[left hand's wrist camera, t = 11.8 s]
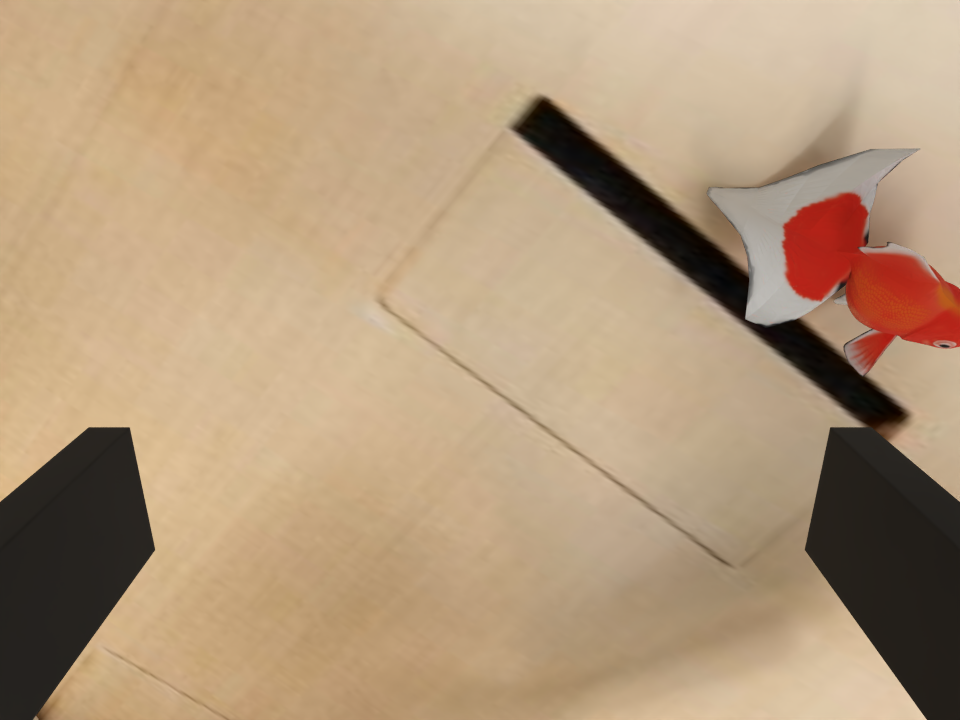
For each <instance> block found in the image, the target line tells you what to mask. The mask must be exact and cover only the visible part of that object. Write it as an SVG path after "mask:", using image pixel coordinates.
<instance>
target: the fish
mask: <svg viewBox="0 0 960 720" xmlns="http://www.w3.org/2000/svg"><path fill="white" fill-rule="evenodd" d="M918 150H920V149H870V150H867V151H863V152H860V153H857V154H854V155H850V156H847V157H844V158H841V159H837V160H834V161H831V162H828V163H824V164H821V165H818V166H816V167H813V168H811V169H808V170H806V171H803V172H801V173H798V174H796V175H793V176H790V177H788V178H785V179H782V180H779V181H777V182H774V183H771V184H768V185H765V186H762V187H759V188H720V187H709V189H708V191H707V195H708V196H709V198H710V199H711V200H712V201H713V202H714V204H715V205H716V206H717V207H718V208H719V209H720V210H721V211H722V213H723V214H724V215H725V216H726V218H727V219H728V220H729V221H730V223H731V224H732V225H733V226H734V228H735V229H736V230H737V231H738V233H739V234H740V235H741V238H742V241H743V244H744V247H745V250H746V253H747V257H748V269H749V290H748V300H747V309H746V318H745V319H746V320H749V321H751V322H754V323H756V324H758V325H761V326H763V327H766V328H767V327H771V326H774V325H778V324H782V323H786V322H790V321H794V320H796V319H797V318H799V317H801V316H803V315H805V314H807V313H809V312H810V311H812V310H813V309H815V308H816V307H817V306H819V305H820V304H822V303H823V302H824V301H825V300H827V299H828V298H829V297H831V296H832V295H833V294H835V293H836V292H837V291H838V290H840V289H841V288H842V287H844V286H845V285H846V294H844V295H842V296H840V297H838V298H836V299H835V300H834V303H836V304H843V305H848V307H849V309H850V311H851V312H852V314H853V316H854V317H855V318H856V319H857V320H858V321H859V322H861V323H862V324H864V325H866V326H868V327H869V328H872V329H871V330H869V331H867V332H865V333H863V334H861V335H860V336H858V337H856V338H854V339H853V340H851V341H849V342H847V343H846V344H845V345H844V352H845V355H846V357H847V360H848V362H849V363H850V364H851V365H852V366H853V367H854V369H855V370H856V371H857V372H858V373H859V374H860V375H861V376H862V377H864V375H865V374H866V373H867V372H869V370H870V369H871V368H872V367H873V366H874V364H875V363H876V361H877V360H878V359H879V357H880V356H881V355H882V354H883V352H884V351H885V349H886V348H887V347H888V346H889V345H890V343H891V342H892V341H893V340H894V339H895V338H896V336H897V335H898V336H900V337H901V338H902V339H904V340H907V341H912V342H917V343H921V344H926V345H930V346H933V347H938V348H955V347H960V289H959V288H958V287H956V286H955V285H953V284H950V283H948V282H946V281H944V279H943V278H942V277H941V276H940V275H939V273H938V272H937V271H936V270H935V269H934V268H933V267H932V266H930V265H929V264H928V263H927V261H926V260H925V258H924V257H923V256H921V255H920V254H918V253H916V252H915V251H913V250H911V249H908V248H905V247H903V246H900V245H897V244H894V243H891V242H887V246H878V247H865V246H866V245H867V243H868V237H869V219H870V212H871V209H872V205H873V202H874V199H875V194H876V189H877V185H878V182H880V181H881V180H882V179H883V178H884V177H885V176H886V175H887V174H888V173H889V172H890V171H891V170H893V169H894V168H895V167H896V166H897V165H898V164H899V163H900V162H901V161H902V160H904V159H905V158H907V157H909V156H910V155H912V154H913V153H915V152H916V151H918Z"/></svg>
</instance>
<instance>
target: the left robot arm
mask: <svg viewBox="0 0 960 720" xmlns="http://www.w3.org/2000/svg"><path fill="white" fill-rule="evenodd" d="M154 551H155V547H154V542H153V537H152V532H151V528H150V523H149V518H148V513H147V508H146V504H145V499H144V494H143V489H142V484H141V480H140V475H139V470H138V465H137V460H136V456H135V451H134V446H133V441H132V436H131V432H130V427H89V428H88V429H86V430H85V431H84V432H83V433H82V434H80V435H79V436H78V437H77V438H76V439H74V440H73V441H72V442H71V443H70V444H69V445H67V446H66V447H65V448H64V449H63V450H61V451H60V452H59V453H58V454H57V455H56V456H54V457H53V458H52V459H51V460H50V461H48V462H47V463H46V464H45V465H44V466H42V467H41V468H40V469H39V470H38V471H37V472H35V473H34V474H33V475H32V476H31V477H29V478H28V479H27V480H26V481H25V482H23V483H22V484H21V485H20V486H19V487H18V488H16V489H15V490H14V491H13V492H12V493H10V494H9V495H8V496H7V497H6V498H4V499H3V500H2V501H1V502H0V720H33V719H34V718H35V716H36V715H37V714H38V712H39V711H40V709H41V708H42V707H43V705H44V704H45V702H46V701H47V700H48V698H49V697H50V695H51V694H52V693H53V691H54V690H55V688H56V687H57V686H58V684H59V683H60V682H61V680H62V679H63V677H64V676H65V675H66V673H67V672H68V670H69V669H70V668H71V666H72V665H73V663H74V662H75V661H76V659H77V658H78V656H79V655H80V654H81V652H82V651H83V650H84V648H85V647H86V645H87V644H88V643H89V641H90V640H91V638H92V637H93V636H94V634H95V633H96V631H97V630H98V629H99V627H100V626H101V624H102V623H103V622H104V620H105V619H106V618H107V616H108V615H109V613H110V612H111V611H112V609H113V608H114V606H115V605H116V604H117V602H118V601H119V599H120V598H121V597H122V595H123V594H124V592H125V591H126V590H127V588H128V587H129V586H130V584H131V583H132V581H133V580H134V579H135V577H136V576H137V574H138V573H139V572H140V570H141V569H142V567H143V566H144V565H145V563H146V562H147V560H148V559H149V558H150V556H151V555H152V554H153V552H154ZM805 551H806V552H807V554H808V555H809V556H810V558H811V559H812V560H813V562H814V563H815V565H816V566H817V567H818V569H819V570H820V572H821V573H822V574H823V576H824V577H825V579H826V580H827V581H828V583H829V584H830V586H831V587H832V588H833V590H834V591H835V592H836V594H837V595H838V597H839V598H840V599H841V601H842V602H843V604H844V605H845V606H846V608H847V609H848V611H849V612H850V613H851V615H852V616H853V618H854V619H855V620H856V622H857V623H858V624H859V626H860V627H861V629H862V630H863V631H864V633H865V634H866V636H867V637H868V638H869V640H870V641H871V643H872V644H873V645H874V647H875V648H876V650H877V651H878V652H879V654H880V655H881V656H882V658H883V659H884V661H885V662H886V663H887V665H888V666H889V668H890V669H891V670H892V672H893V673H894V675H895V676H896V677H897V679H898V680H899V682H900V683H901V684H902V686H903V687H904V688H905V690H906V691H907V693H908V694H909V695H910V697H911V698H912V700H913V701H914V702H915V704H916V705H917V707H918V708H919V709H920V711H921V712H922V714H923V715H924V716H925V718H926V719H927V720H960V502H959V501H958V500H957V499H956V498H954V497H953V496H952V495H951V494H950V493H948V492H947V491H946V490H945V489H944V488H942V487H941V486H940V485H939V484H938V483H937V482H935V481H934V480H933V479H932V478H931V477H929V476H928V475H927V474H926V473H925V472H923V471H922V470H921V469H920V468H919V467H918V466H916V465H915V464H914V463H913V462H912V461H910V460H909V459H908V458H907V457H906V456H904V455H903V454H902V453H901V452H900V451H899V450H897V449H896V448H895V447H894V446H893V445H891V444H890V443H889V442H888V441H887V440H886V439H884V438H883V437H882V436H881V435H880V434H878V433H877V432H876V431H875V430H874V429H872V428H871V427H830V432H829V436H828V441H827V446H826V451H825V456H824V460H823V465H822V470H821V475H820V480H819V484H818V489H817V494H816V499H815V504H814V508H813V513H812V518H811V523H810V528H809V532H808V537H807V542H806V547H805Z"/></svg>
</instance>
